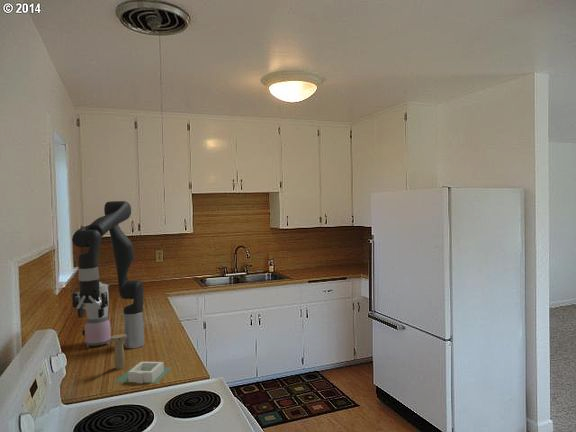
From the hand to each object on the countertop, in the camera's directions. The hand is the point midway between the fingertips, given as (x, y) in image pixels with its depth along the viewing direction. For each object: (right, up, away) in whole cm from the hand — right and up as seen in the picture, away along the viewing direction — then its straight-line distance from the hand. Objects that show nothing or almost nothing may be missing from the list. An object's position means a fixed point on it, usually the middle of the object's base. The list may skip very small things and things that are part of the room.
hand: (90, 317), depth 172 cm
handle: (+8, -25, +9) cm, 28 cm away
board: (+21, -25, +2) cm, 33 cm away
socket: (+23, -24, 0) cm, 33 cm away
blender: (-19, -25, +45) cm, 55 cm away
